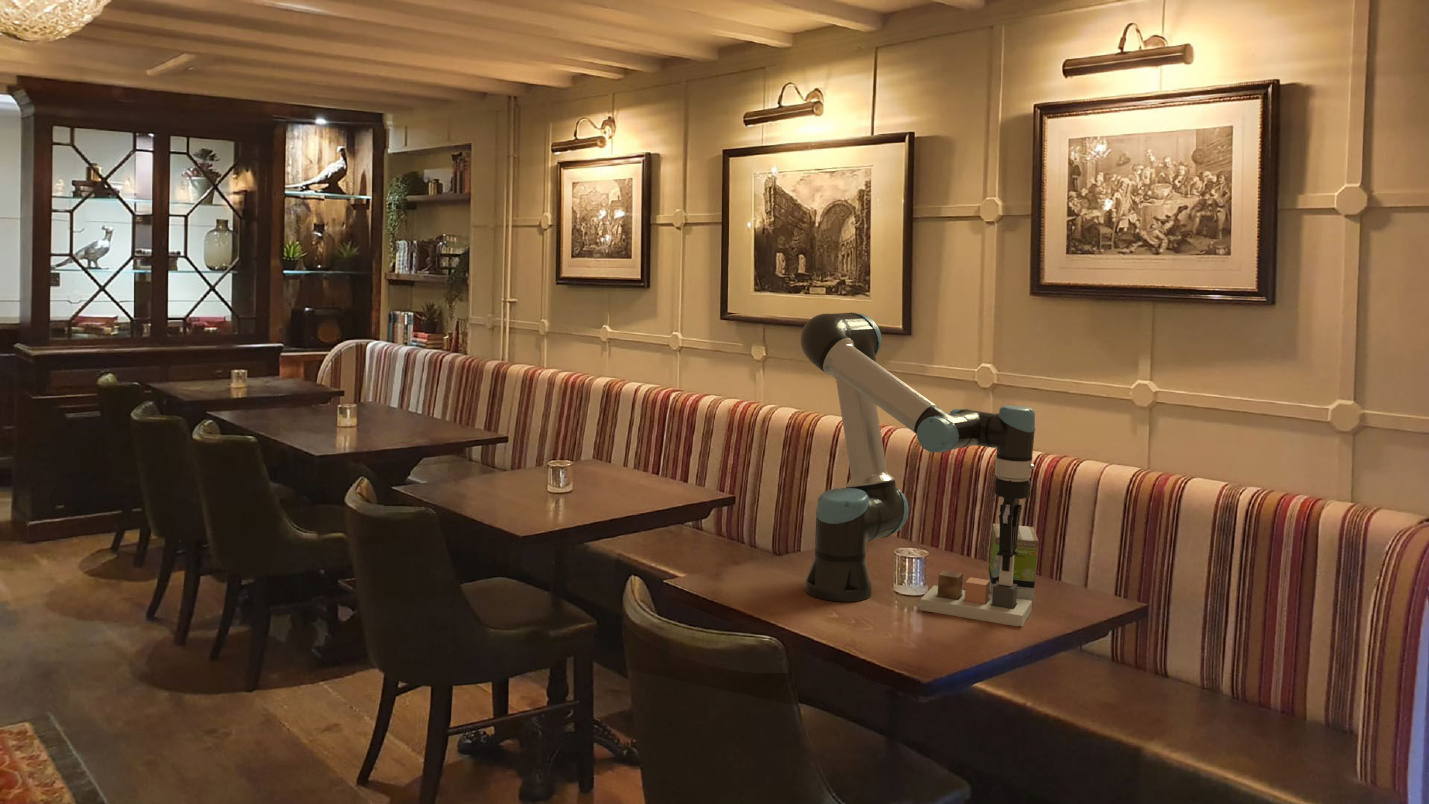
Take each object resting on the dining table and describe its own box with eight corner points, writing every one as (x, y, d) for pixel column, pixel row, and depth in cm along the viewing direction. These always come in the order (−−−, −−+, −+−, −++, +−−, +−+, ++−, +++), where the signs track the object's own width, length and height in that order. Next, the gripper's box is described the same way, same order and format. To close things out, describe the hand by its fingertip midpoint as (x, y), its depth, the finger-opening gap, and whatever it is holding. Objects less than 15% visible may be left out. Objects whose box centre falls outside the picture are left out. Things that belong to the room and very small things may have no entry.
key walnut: (937, 596, 246) (938, 574, 245) (942, 591, 250) (943, 570, 249) (957, 599, 244) (958, 577, 244) (961, 594, 248) (963, 573, 248)
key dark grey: (991, 608, 241) (993, 586, 240) (995, 603, 245) (997, 581, 244) (1012, 611, 239) (1013, 589, 239) (1015, 606, 243) (1017, 584, 243)
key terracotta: (964, 604, 244) (965, 582, 243) (968, 598, 248) (970, 577, 247) (984, 607, 242) (985, 585, 241) (988, 602, 246) (989, 580, 245)
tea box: (1035, 603, 252) (1039, 540, 250) (989, 599, 254) (993, 536, 252) (1029, 585, 267) (1034, 525, 265) (987, 581, 269) (991, 521, 267)
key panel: (919, 610, 244) (920, 599, 244) (933, 595, 255) (934, 585, 255) (1021, 627, 235) (1022, 615, 235) (1031, 611, 246) (1032, 600, 245)
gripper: (1025, 485, 231) (1017, 594, 234) (1035, 475, 243) (1028, 579, 246) (989, 481, 234) (982, 589, 237) (1001, 471, 246) (994, 574, 249)
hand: (1005, 584), depth 241 cm, fingers closed
